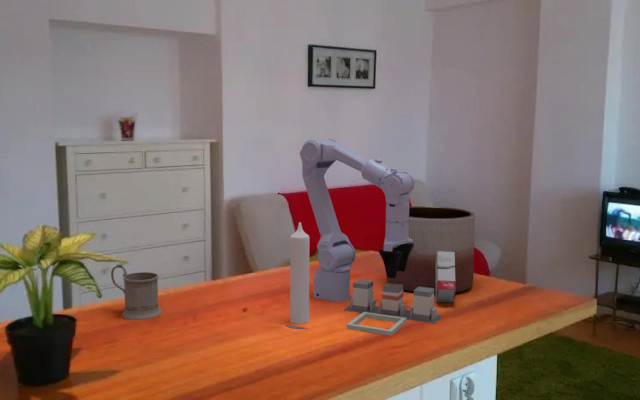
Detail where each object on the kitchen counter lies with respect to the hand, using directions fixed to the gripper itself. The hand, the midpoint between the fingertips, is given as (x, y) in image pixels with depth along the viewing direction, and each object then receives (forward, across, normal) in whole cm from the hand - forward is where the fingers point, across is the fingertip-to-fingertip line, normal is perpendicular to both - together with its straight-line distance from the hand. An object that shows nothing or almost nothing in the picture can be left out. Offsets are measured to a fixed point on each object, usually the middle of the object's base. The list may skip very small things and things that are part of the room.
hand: (396, 274), depth 166 cm
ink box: (+8, +11, -10) cm, 17 cm away
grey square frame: (+10, -13, 0) cm, 17 cm away
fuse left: (+9, -2, +8) cm, 13 cm away
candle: (+11, -18, +18) cm, 28 cm away
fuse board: (+10, -2, 0) cm, 11 cm away
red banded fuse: (+9, -2, 0) cm, 10 cm away
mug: (+11, -27, +60) cm, 67 cm away
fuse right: (+9, -2, -8) cm, 12 cm away
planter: (+11, +32, 0) cm, 34 cm away
